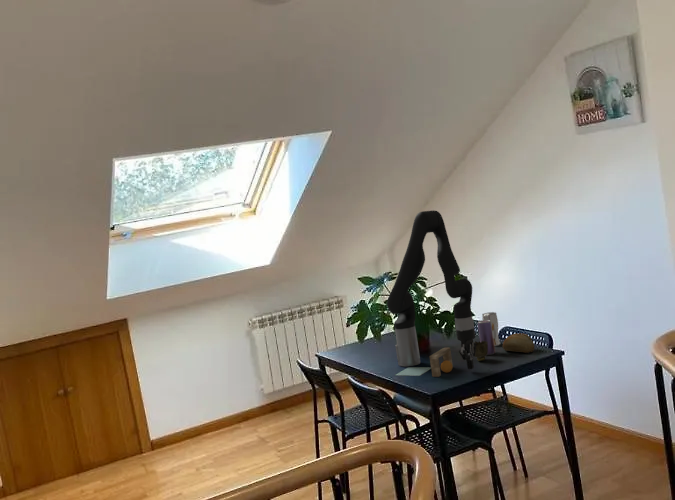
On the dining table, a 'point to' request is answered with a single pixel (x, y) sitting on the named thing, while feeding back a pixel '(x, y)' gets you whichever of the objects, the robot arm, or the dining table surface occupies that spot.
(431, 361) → the bridge
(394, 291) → the robot arm
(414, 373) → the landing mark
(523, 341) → the bread roll
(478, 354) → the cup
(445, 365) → the ball
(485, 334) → the beverage can
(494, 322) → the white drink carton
